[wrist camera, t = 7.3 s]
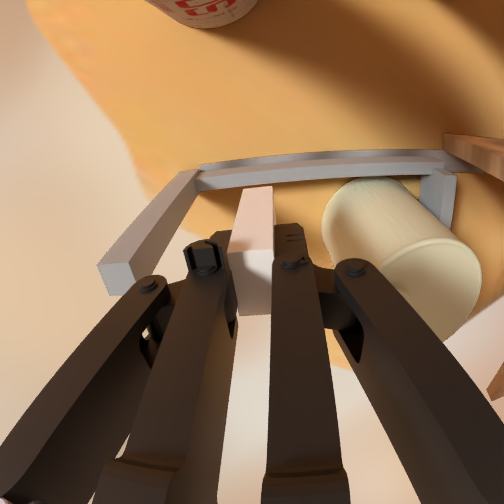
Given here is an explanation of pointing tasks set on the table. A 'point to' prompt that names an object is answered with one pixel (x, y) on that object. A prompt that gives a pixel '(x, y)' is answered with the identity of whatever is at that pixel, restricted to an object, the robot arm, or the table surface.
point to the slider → (192, 182)
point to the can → (404, 249)
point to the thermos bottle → (204, 11)
